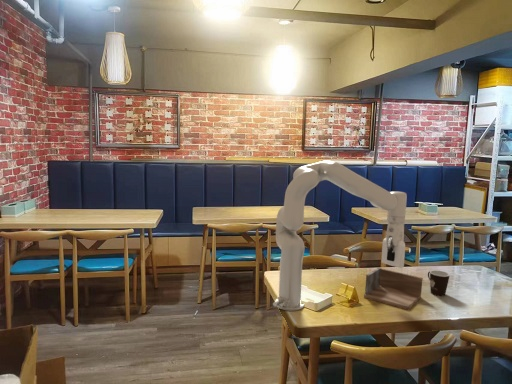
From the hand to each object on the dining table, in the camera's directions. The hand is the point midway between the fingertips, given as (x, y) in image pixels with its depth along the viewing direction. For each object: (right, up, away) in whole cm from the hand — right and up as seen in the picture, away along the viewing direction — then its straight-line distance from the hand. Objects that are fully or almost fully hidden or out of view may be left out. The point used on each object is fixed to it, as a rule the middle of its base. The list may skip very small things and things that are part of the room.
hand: (392, 258), depth 180 cm
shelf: (+2, -19, +5) cm, 19 cm away
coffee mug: (+26, -19, +13) cm, 34 cm away
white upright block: (0, -3, 0) cm, 3 cm away
